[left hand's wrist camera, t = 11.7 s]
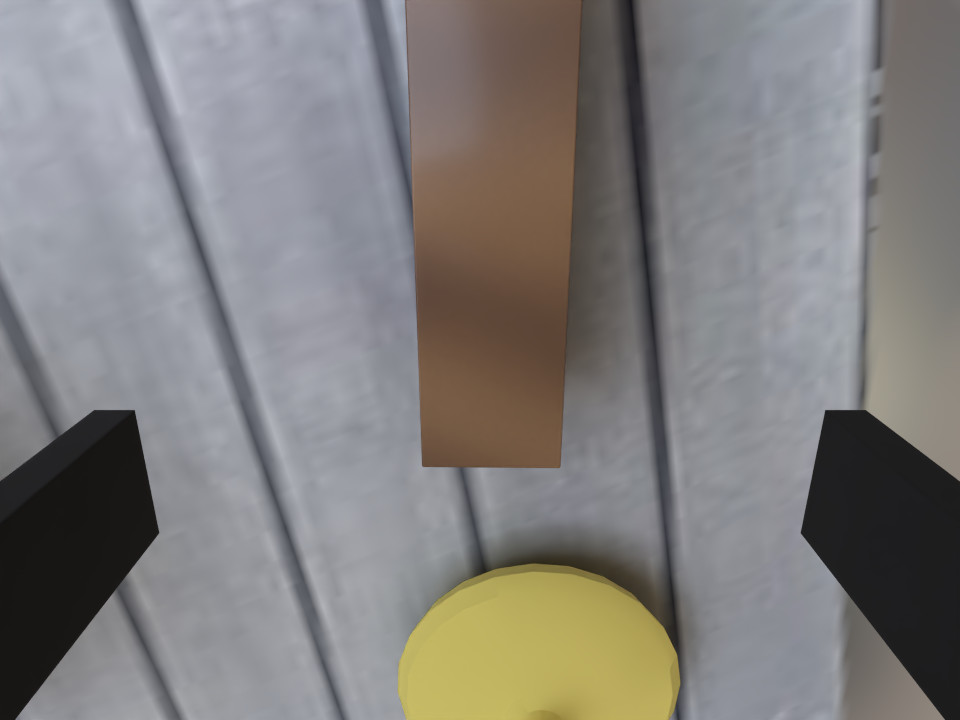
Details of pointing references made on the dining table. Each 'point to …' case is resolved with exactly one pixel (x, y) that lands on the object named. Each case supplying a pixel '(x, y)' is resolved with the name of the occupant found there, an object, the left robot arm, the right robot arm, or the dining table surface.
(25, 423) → the dining table surface
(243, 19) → the dining table surface
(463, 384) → the post
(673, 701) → the yellow round disc
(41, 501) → the left robot arm
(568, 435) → the dining table surface
